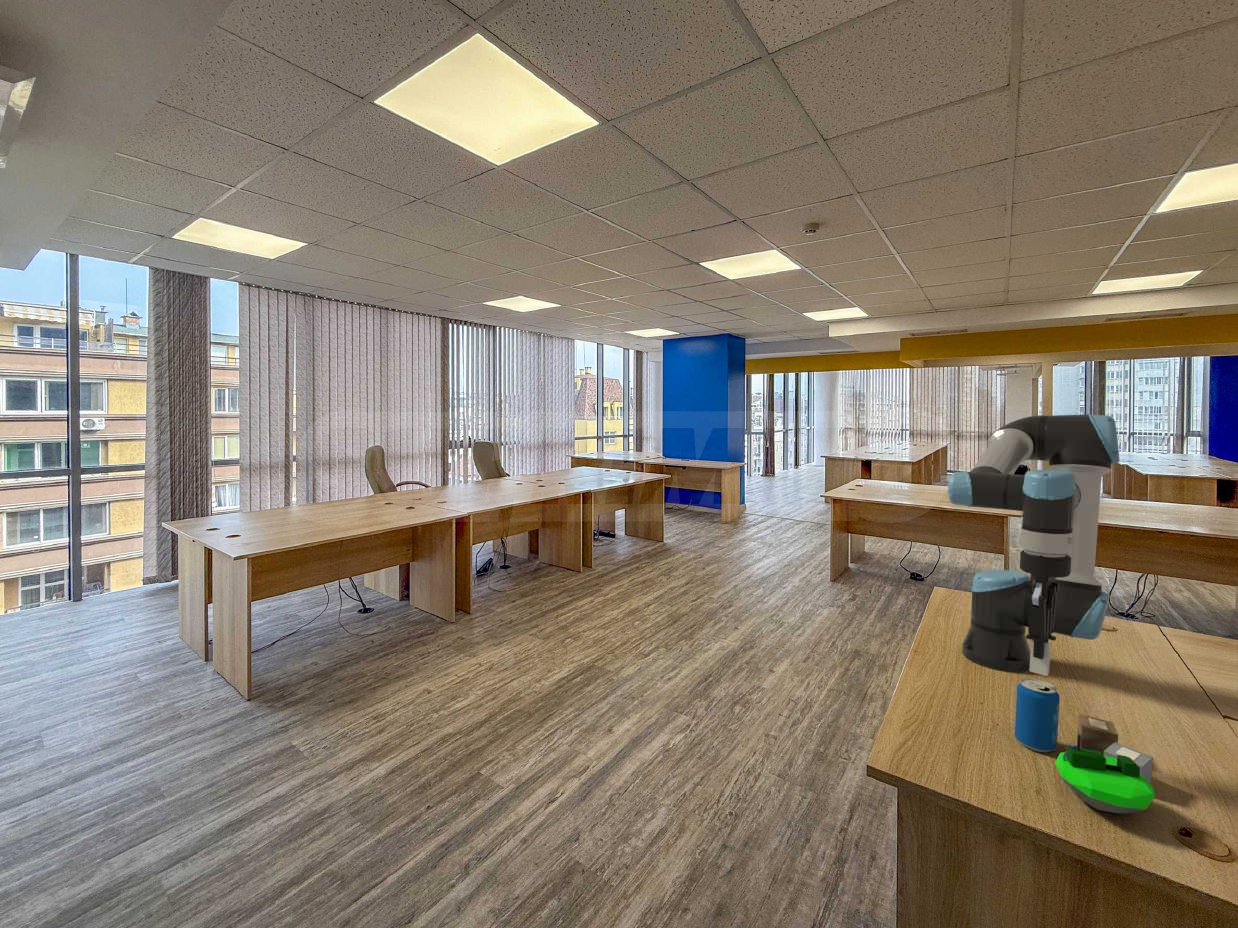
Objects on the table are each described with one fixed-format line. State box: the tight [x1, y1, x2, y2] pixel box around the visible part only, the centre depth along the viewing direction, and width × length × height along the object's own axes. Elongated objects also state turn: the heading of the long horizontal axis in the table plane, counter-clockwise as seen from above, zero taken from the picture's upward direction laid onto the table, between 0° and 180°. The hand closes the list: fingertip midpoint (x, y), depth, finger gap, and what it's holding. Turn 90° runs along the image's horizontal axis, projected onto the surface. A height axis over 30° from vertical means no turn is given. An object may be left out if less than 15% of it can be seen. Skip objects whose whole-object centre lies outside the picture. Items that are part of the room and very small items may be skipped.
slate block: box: [1103, 742, 1154, 785], centre depth 92 cm, size 5×5×5 cm
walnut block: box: [1076, 714, 1119, 755], centre depth 101 cm, size 5×5×5 cm
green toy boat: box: [1055, 734, 1156, 815], centre depth 87 cm, size 12×12×11 cm
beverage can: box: [1014, 677, 1061, 753], centre depth 103 cm, size 6×6×12 cm
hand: (1039, 672), depth 102 cm, fingers closed
